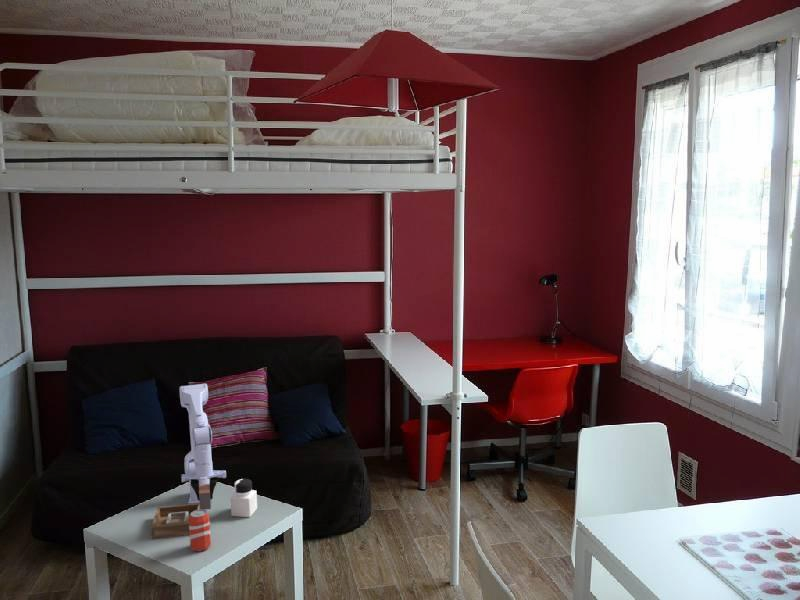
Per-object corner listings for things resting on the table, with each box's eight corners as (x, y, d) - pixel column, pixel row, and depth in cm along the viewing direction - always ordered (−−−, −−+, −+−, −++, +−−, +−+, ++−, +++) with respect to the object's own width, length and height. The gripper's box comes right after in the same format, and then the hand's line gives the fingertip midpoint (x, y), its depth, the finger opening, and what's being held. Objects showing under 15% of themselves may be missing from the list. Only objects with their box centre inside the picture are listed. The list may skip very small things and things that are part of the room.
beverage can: (205, 540, 221) (202, 506, 219) (214, 547, 216) (212, 513, 214) (187, 547, 217) (185, 512, 215) (196, 554, 212) (194, 519, 210)
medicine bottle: (257, 508, 243) (256, 477, 241) (250, 517, 236) (248, 485, 234) (239, 507, 244) (237, 476, 242) (231, 516, 237) (229, 484, 235)
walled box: (158, 517, 237) (157, 507, 236) (202, 513, 240) (201, 502, 239) (151, 538, 222) (151, 527, 222) (198, 533, 225) (197, 522, 225)
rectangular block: (201, 503, 232) (199, 484, 231) (211, 502, 232) (210, 483, 231) (200, 510, 227) (198, 490, 226) (210, 509, 228) (209, 489, 226)
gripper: (179, 468, 222) (182, 506, 224) (224, 463, 225) (226, 501, 227) (181, 459, 228) (184, 497, 231) (225, 456, 232) (227, 492, 234)
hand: (205, 498), depth 229 cm, fingers closed on rectangular block, 3 cm apart
